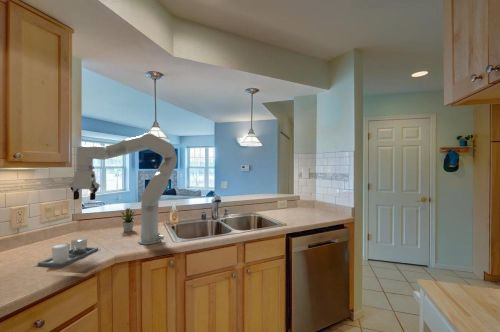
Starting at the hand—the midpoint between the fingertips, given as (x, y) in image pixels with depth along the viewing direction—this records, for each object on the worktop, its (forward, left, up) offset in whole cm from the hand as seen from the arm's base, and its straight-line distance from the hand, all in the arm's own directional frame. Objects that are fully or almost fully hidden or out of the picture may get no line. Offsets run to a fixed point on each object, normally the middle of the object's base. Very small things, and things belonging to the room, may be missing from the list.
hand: (84, 199), depth 139 cm
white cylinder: (-8, +23, -25) cm, 35 cm away
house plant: (-2, -36, -26) cm, 45 cm away
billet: (-8, +12, -25) cm, 29 cm away
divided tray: (-8, +18, -26) cm, 32 cm away
